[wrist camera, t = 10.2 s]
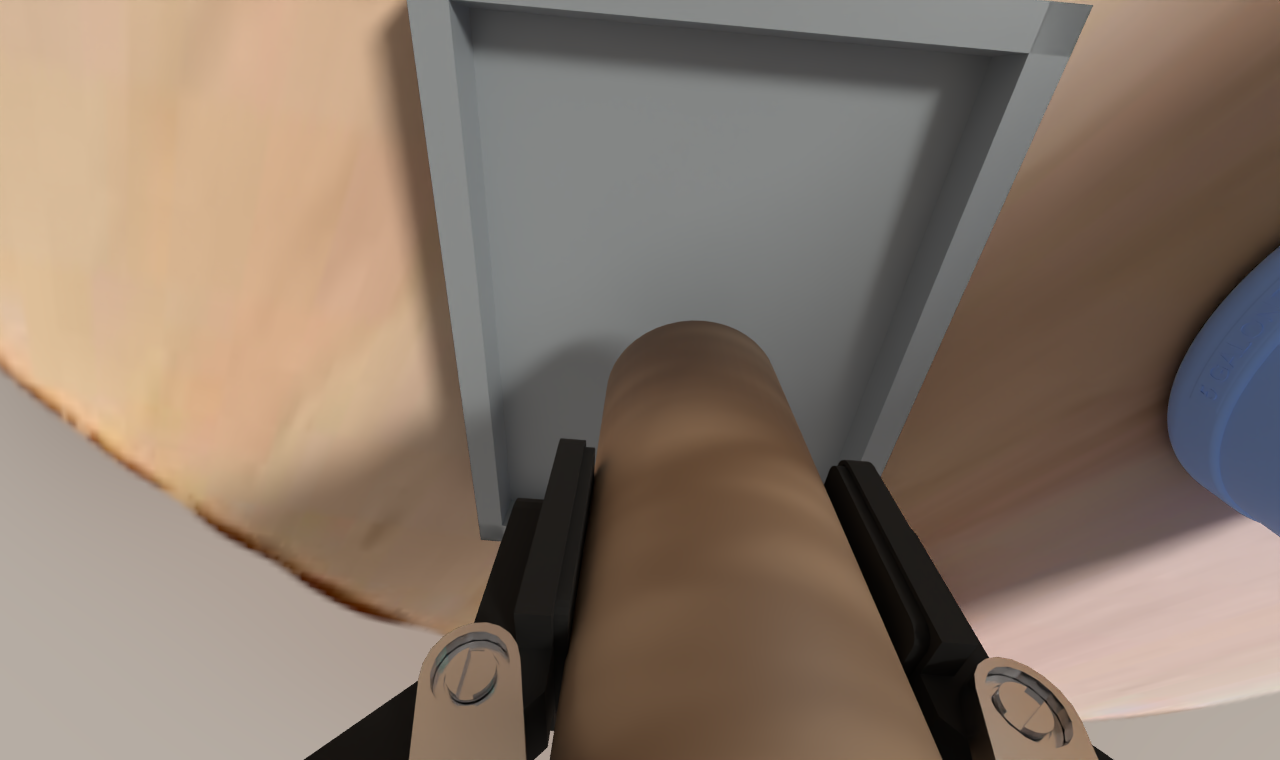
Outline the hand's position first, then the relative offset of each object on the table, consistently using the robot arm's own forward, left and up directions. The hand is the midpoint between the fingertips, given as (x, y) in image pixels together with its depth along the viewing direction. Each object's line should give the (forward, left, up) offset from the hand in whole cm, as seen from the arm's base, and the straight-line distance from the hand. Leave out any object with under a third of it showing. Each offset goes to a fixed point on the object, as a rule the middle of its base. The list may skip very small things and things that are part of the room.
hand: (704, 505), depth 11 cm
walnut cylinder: (0, 0, -4) cm, 4 cm away
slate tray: (0, 0, -9) cm, 9 cm away
